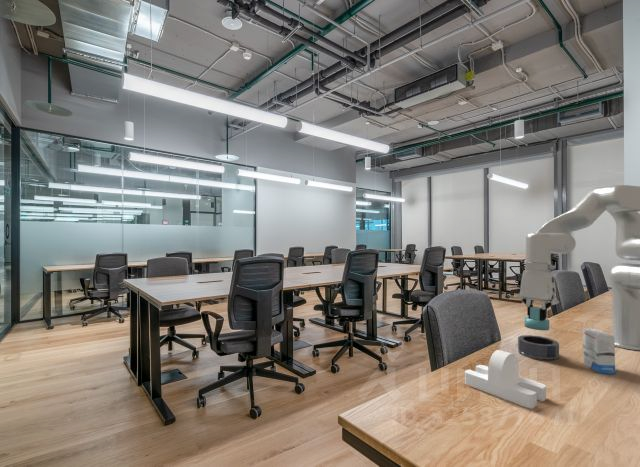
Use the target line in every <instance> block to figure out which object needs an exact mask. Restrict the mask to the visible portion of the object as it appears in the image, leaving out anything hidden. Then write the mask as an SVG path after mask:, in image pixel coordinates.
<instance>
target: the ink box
mask: <svg viewBox="0 0 640 467" xmlns="http://www.w3.org/2000/svg"><path fill="white" fill-rule="evenodd" d="M582 332H583V333H582V337H583V338H582V339H583V340H582V341H583V342H582V343H583V344H582V345H583V346H582V347H583V348H582V349H583V352H582V353H583V364H584V365H585V366H587V367H589V368H590V369H592V370H593V371H595V372H597V373H598V374H610V375H611V374H612V375H615V374H616V355H615V354H616V352H615V347H616V346H614V336H612V334H609V333H608V332H605V331H604V330H601V329H597V328H583V329H582Z"/></svg>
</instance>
